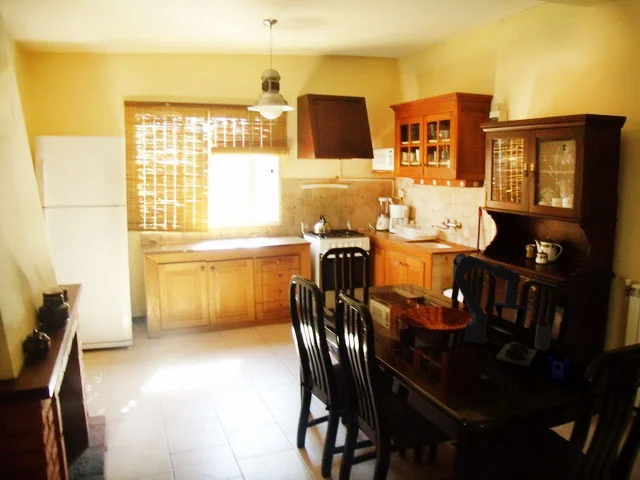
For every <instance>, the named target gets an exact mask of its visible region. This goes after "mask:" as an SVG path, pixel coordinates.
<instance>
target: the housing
mask: <svg viewBox="0 0 640 480" xmlns="http://www.w3.org/2000/svg"><path fill="white" fill-rule="evenodd" d="M510 344H511V343H505V344H504V346H503V347H502V348H501V350H500V351H499V352H498V354H497V355H496V356H495V360H497V361H501V362H505V363H506V362H507V363H509V364H515V365H518V366H523V367H530V365H531V364H532V362H533V360H534V359H535V358H536V355H537V353H538V350H537V349H534V348H530V347H529V346H528V345H526V344H523V343H520V344H521V351H520V355H513V354H510Z"/></svg>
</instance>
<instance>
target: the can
mask: <svg viewBox="0 0 640 480" xmlns="http://www.w3.org/2000/svg"><path fill="white" fill-rule="evenodd" d="M551 326H552V325H551V324H550V323H547V322H544V321H543V322H542V321H541V322H538V323H537V325H536V329H535V330H536V331H535V340H534V348H535V350H537V349H538V350H537V351H540V350H542V351H541V352H547V350H548V351H549V350H550V345H551V338H552V327H551Z"/></svg>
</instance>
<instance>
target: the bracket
mask: <svg viewBox="0 0 640 480" xmlns="http://www.w3.org/2000/svg"><path fill="white" fill-rule="evenodd" d="M558 368H559V369H558ZM570 368H571V359H569V358H564V360H563V362H560V361H557V360H556V361H555V360H554V356H551V355H547V363H546V370H545V381H551V382H556V383H560V384H567V385H568V384H569V378H570V370H571V369H570Z"/></svg>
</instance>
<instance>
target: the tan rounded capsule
mask: <svg viewBox="0 0 640 480" xmlns="http://www.w3.org/2000/svg"><path fill="white" fill-rule="evenodd" d="M509 344H510V354H513V355H520V351H521V344H522V343H519V342H516V341H514V342H513V341H512V342H510V343H509Z"/></svg>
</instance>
